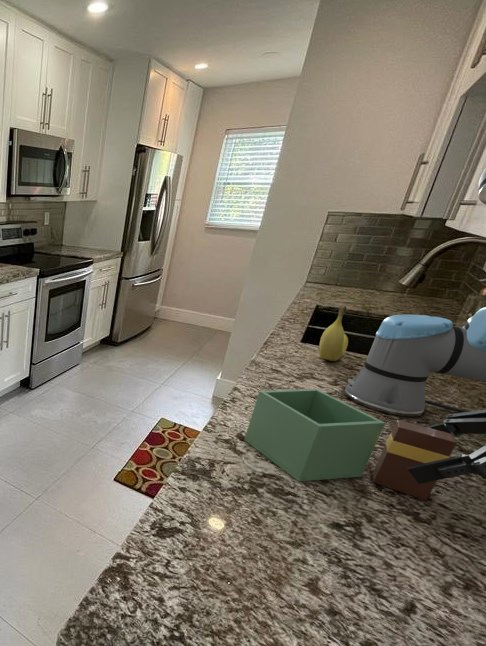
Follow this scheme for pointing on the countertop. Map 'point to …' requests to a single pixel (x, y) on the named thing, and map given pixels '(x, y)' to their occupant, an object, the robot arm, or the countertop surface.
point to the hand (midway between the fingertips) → (407, 457)
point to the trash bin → (312, 434)
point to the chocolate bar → (411, 457)
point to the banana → (334, 339)
